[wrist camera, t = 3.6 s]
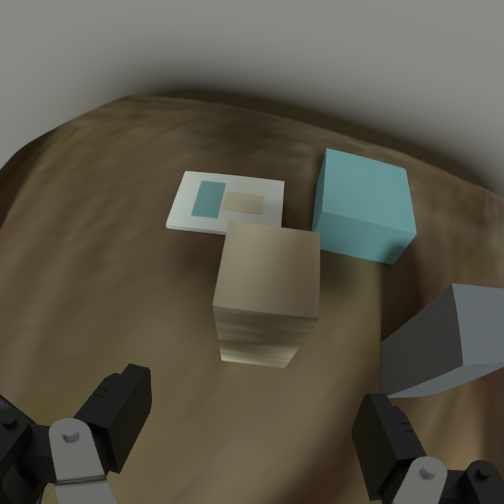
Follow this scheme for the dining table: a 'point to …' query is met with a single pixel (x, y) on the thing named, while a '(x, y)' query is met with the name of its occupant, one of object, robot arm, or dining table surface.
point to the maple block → (266, 293)
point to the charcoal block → (445, 343)
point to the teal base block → (363, 208)
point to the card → (225, 202)
